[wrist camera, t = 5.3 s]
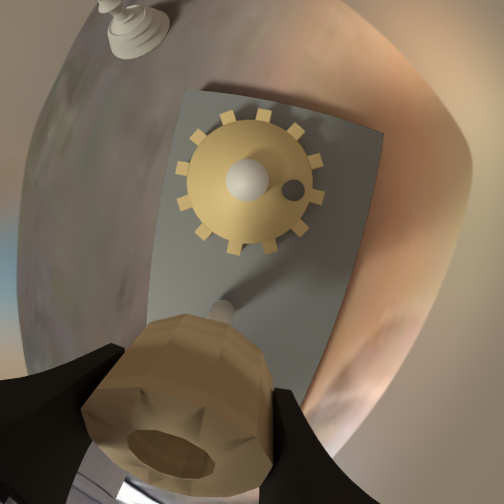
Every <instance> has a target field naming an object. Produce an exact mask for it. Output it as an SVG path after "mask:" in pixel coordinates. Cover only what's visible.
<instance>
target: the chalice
mask: <svg viewBox="0 0 504 504" xmlns="http://www.w3.org/2000/svg"><path fill="white" fill-rule="evenodd" d="M97 1H98V2H99V4H100V5H99V9H98V10H99V12H100V13H106V12H108V13H110V14H112V15H113V16H114V18H113V19H112V21H111V23H110V25H109V28H108V38H109V42H110V45H111V50H112V53H113V54H114V55H115V56H116V57H118V58H122V59H133V58H136V57H139V56H142V55H144V54H146V53H148V52H149V51H151V50H153V49H154V48H155V47H156V46H157V45H158V44H160V43H161V41H162V40H163V39H164V37H165V36H166V35H167V32H168V30H169V28H170V19H169V17H168V16H167V14H166V13H164V12H162V11H160V10H156V9H155V8H150V7H149V6H147V5H134V6H130V7H127V8H124V7H123V5H122V3H121V1H122V0H97Z"/></svg>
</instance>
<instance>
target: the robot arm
mask: <svg viewBox="0 0 504 504" xmlns="http://www.w3.org/2000/svg"><path fill="white" fill-rule="evenodd" d="M124 353H125V348H123V347H120V346H118V345H115V344H112V343H110V344H108V345H105V346H103V347H101V348H99V349H97V350H95V351H93V352H90V353H88V354H86V355H84V356H82V357H79V358H77V359H75V360H73V361H71V362H68V363H66V364H63V365H60V366H58V367H55V368H52V369H50V370H47V371H44V372H41V373H37V374H33V375H29V376H25V377H20V378H14V379H7V380H0V504H119V502H118V501H116V500H115V499H116V497H117V494H118V492H119V490H120V488H121V486H122V484H123V481H124V479H125V477H126V475H127V473H128V472H127V471H126V470H124V469H122V468H121V467H119V466H118V465H116V464H115V463H113V462H112V461H111V460H110V459H109V457H108V456H107V455H106V454H105V453H104V452H103V451H102V450H101V449H100V448H99V447H98V446H97V445H96V444H95V442H94V441H93V440H92V439H91V438H90V437H89V434H88V431H87V428H86V425H85V422H84V419H83V415H82V412H81V408H82V406H83V405H84V404H85V402H86V401H87V400H88V398H89V397H90V396H91V394H92V393H93V392H94V390H95V389H96V388H97V387H98V385H99V384H100V383H101V382H102V380H103V379H104V378H105V377H106V375H107V374H108V373H109V372H110V370H111V369H112V368H113V367H114V365H115V364H116V363H117V362H118V360H119V359H120V358H121V357H122V356H123V354H124ZM259 504H380V503H379V502H377V501H376V500H374V499H373V498H371V497H370V496H369V495H368V494H366V493H365V492H364V491H363V490H362V489H361V488H360V487H358V486H357V485H356V484H355V483H354V482H353V481H352V480H351V479H349V477H348V476H347V475H346V474H345V473H344V472H343V471H342V470H341V469H340V468H339V467H338V465H337V464H336V463H335V462H334V461H333V459H332V458H331V457H330V456H329V454H328V453H327V451H326V450H325V449H324V447H323V446H322V444H321V443H320V441H319V440H318V438H317V437H316V435H315V434H314V432H313V430H312V429H311V427H310V425H309V423H308V422H307V420H306V418H305V416H304V414H303V412H302V410H301V409H300V407H299V405H298V402H297V400H296V398H295V396H294V394H293V392H292V391H291V390H288V389H282V388H274V391H273V466H272V468H271V470H270V471H269V473H268V475H267V476H266V478H265V479H264V481H263V483H262V484H261V486H260V487H259Z"/></svg>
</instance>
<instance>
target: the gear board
mask: <svg viewBox="0 0 504 504" xmlns="http://www.w3.org/2000/svg"><path fill="white" fill-rule="evenodd" d="M383 136H384V133H381V132H379V131H376V130H373V129H370V128H368V127H365V126H362V125H359V124H356V123H353V122H350V121H347V120H343V119H340V118H337V117H334V116H330V115H327V114H323V113H320V112H316V111H312V110H308V109H304V108H300V107H296V106H292V105H288V104H283V103H278V102H274V101H269V100H263V99H258V98H252V97H246V96H240V95H233V94H226V93H218V92H210V91H200V90H188V89H186V91H185V94H184V97H183V101H182V105H181V108H180V112H179V116H178V120H177V124H176V128H175V132H174V136H173V140H172V144H171V149H170V153H169V158H168V163H167V168H166V172H165V178H164V183H163V188H162V194H161V199H160V205H159V211H158V218H157V224H156V231H155V239H154V246H153V254H152V263H151V273H150V283H149V295H148V308H147V325H148V324H149V323H150V322H152V321H156V320H161V319H165V318H169V317H173V316H178V315H182V314H186V313H187V314H190V315H194V316H198V317H202V318H206V319H210V320H214V321H218V322H223V323H227V324H230V325H231V326H232V327H233V328H234V329H236V330H237V331H238V332H239V333H241V334H242V335H243V336H244V337H246V338H247V339H248V340H250V341H251V342H252V343H253V344H255V345H256V346H257V347H259V348H260V349H261V350H262V352H263V355H264V358H265V360H266V363H267V366H268V368H269V371H270V374H271V376H272V379H273V391H274V388H282V389H288V390H291V391H292V392H293V394H294V396H295V398H296V400H297V402H298V405H299V407H300V405H301V403H302V401H303V398H304V396H305V394H306V392H307V390H308V388H309V385H310V383H311V381H312V378H313V376H314V374H315V372H316V369H317V367H318V364H319V362H320V360H321V357H322V355H323V352H324V350H325V347H326V345H327V342H328V339H329V337H330V334H331V332H332V329H333V326H334V324H335V321H336V318H337V315H338V312H339V310H340V307H341V304H342V301H343V298H344V295H345V292H346V289H347V286H348V283H349V280H350V276H351V273H352V270H353V267H354V263H355V260H356V257H357V253H358V250H359V246H360V242H361V239H362V235H363V231H364V227H365V224H366V220H367V216H368V211H369V207H370V203H371V199H372V194H373V190H374V185H375V180H376V175H377V170H378V165H379V160H380V154H381V149H382V143H383ZM146 327H147V326H146Z"/></svg>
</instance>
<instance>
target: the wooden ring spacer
mask: <svg viewBox="0 0 504 504" xmlns="http://www.w3.org/2000/svg"><path fill="white" fill-rule="evenodd" d="M81 412H82V415H83V419H84V422H85V425H86V428H87V431H88V434H89V437H90V438H91V439H92V440H93V441H94V442H95V444H96V445H97V446H98V447H99V448H100V449H101V450H102V451H103V452H104V453H105V454H106V455H107V456H108V457H109V459H110V460H111V461H112V462H113V463H115V464H116V465H118V466H119V467H121V468H122V469H124V470H126V471H127V472H129V473H131V474H132V475H134V476H136V477H137V478H139V479H141V480H143V481H144V482H146V483H148V484H150V485H153V486H156V487H159V488H162V489H166V490H169V491H172V492H176V493H180V494H183V495H187V496H196V497H231V496H234V495H237V494H240V493H243V492H246V491H249V490H252V489H255V488H257V487H260V486H261V484H262V483H263V481H264V479H265V478H266V476H267V475H268V473H269V471H270V470H271V468H272V466H273V379H272V376H271V374H270V371H269V368H268V366H267V363H266V360H265V358H264V355H263V352H262V350H261V349H260V348H259V347H257V346H256V345H255V344H253V343H252V342H251V341H250V340H248V339H247V338H246V337H244V336H243V335H242V334H241V333H239V332H238V331H237V330H236V329H234V328H233V327H232V326H231V325H230V324H227V323H223V322H218V321H214V320H210V319H206V318H202V317H198V316H194V315H190V314H187V313H186V314H182V315H178V316H173V317H169V318H165V319H161V320H156V321H152V322H150V323H149V324H148V325H147V327H146V328H145V329H144V330H143V331H142V333H141V334H140V335H139V336H138V337H137V339H136V340H135V341H134V342H133V343H132V345H131V346H130V347H129V348H128V349H127V351H126V352H125V353H124V354H123V356H122V357H121V358H120V359H119V360H118V362H117V363H116V364H115V365H114V367H113V368H112V369H111V370H110V372H109V373H108V374H107V375H106V377H105V378H104V379H103V380H102V382H101V383H100V384H99V385H98V387H97V388H96V389H95V390H94V392H93V393H92V394H91V396H90V397H89V398H88V400H87V401H86V402H85V404H84V405H83V406H82V408H81Z"/></svg>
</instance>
